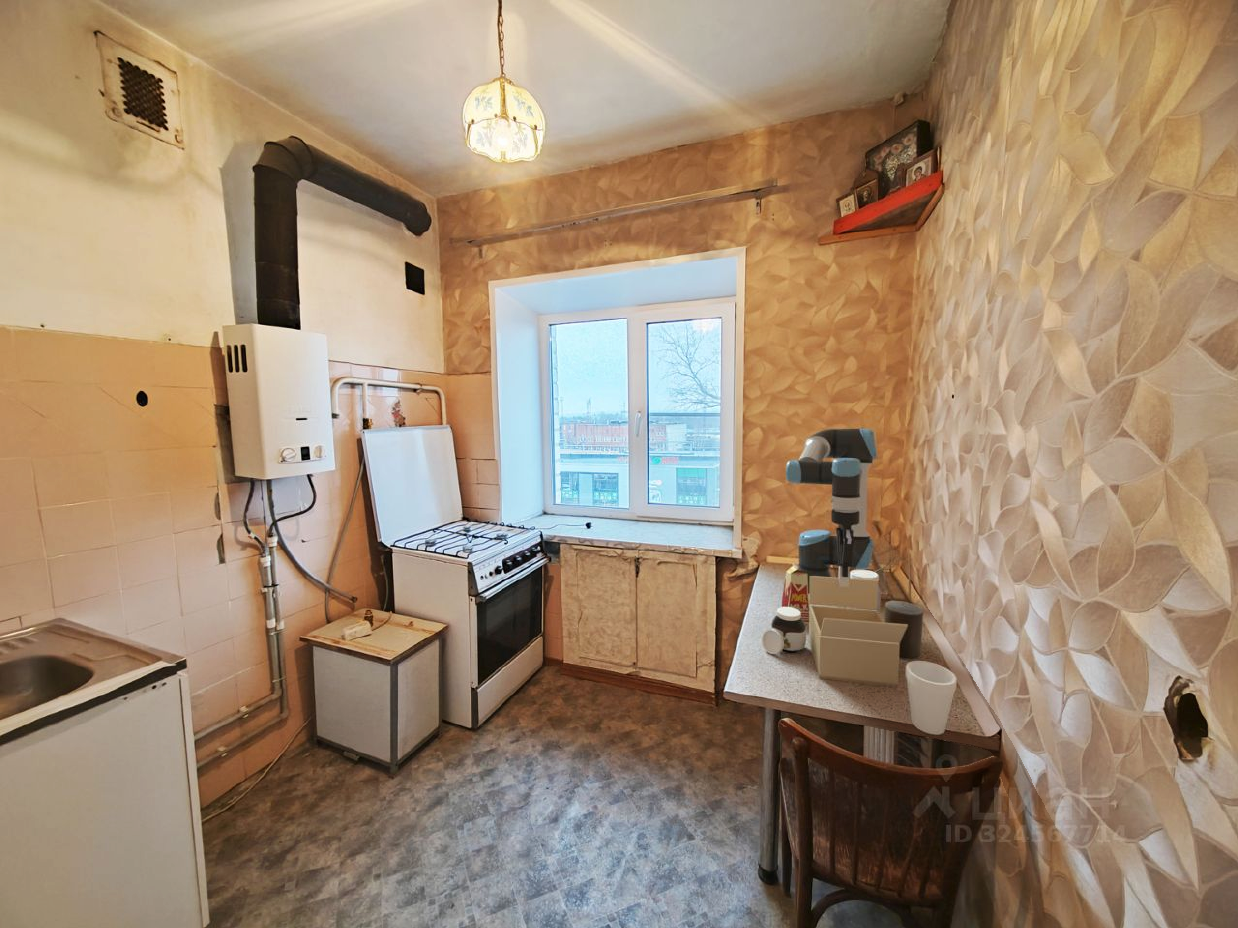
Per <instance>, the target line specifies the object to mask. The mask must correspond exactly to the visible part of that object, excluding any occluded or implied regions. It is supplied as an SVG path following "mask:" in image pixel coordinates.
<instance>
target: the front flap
mask: <svg viewBox="0 0 1238 928" xmlns="http://www.w3.org/2000/svg"><path fill="white" fill-rule="evenodd" d="M907 627H908V624H896V623H884V622H871V621H859V620H847V619H835V618H824V620H823V624H822V629H821V633H820V636H826V637H837V638H848V639H859V640H870V641H881V642H892V643H900V642H901V639H902V637H903V635H904V633H905V631H906V629H907Z"/></svg>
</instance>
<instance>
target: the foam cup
mask: <svg viewBox="0 0 1238 928" xmlns="http://www.w3.org/2000/svg"><path fill="white" fill-rule="evenodd" d="M905 678H906V682H907V692H908V700H909V701H908V702H909V708H910V709H909V710H910V718H911V723H912V725H913V726H915V728H916V729H918V730H920V731H921V732H924V733H926V734H930V735H941V734H944V733H945V730H946V727H947V722H948V719H949V716H950V715H949V714H950V710H951V708H952V707H951V706H952V703H953V702H952V701H953V699H954V694H955V692H956V691H957V682H958V681H957V680H958V679H957V676H956V675H955V673H953V672H952V671H951V670H950V669H948V668H947V667H944V666H943V665H940V664H937V663H935V662H934V663H933V662H929V661H926V660H923V661H922V660H913V661H910V662H907V664H906V665H905Z"/></svg>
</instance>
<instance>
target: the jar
mask: <svg viewBox="0 0 1238 928" xmlns="http://www.w3.org/2000/svg"><path fill="white" fill-rule="evenodd" d="M849 578H851V579H868V580H878V607H877V609H867V608H854V607H846V608H851V609H865V610H877V611H878V613H879V614H880V615H881V601H882V600H881V599H882V595H881V593H882V589H881V587H880V586H879V585H880V584H879V580H880V575H879V574H878V573H877V572H875V571H872V570H867V569H858V568H856V569H853V570H851V571H849Z"/></svg>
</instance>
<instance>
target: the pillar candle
mask: <svg viewBox="0 0 1238 928" xmlns="http://www.w3.org/2000/svg"><path fill="white" fill-rule="evenodd" d="M923 616H924V610H923V609H922V607H920V606H919V605H916V604H913V603H910V602H906V601H901V600H890V601H887V602H885V604H884V616H883V617H884V618H883V620H884V622H885V623H896V624H908V627H907V629H906V631H905V633H904V635H903V637H902V639H901V642H900V643H899V644H900V647H899V659H900V658H901V659H903V660H904V659H905V660H914V659H916V660H917V659H919V658H920V657H921V652H922V651H921V650H922V636H923V634H922V633H923V619H924V617H923Z"/></svg>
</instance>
